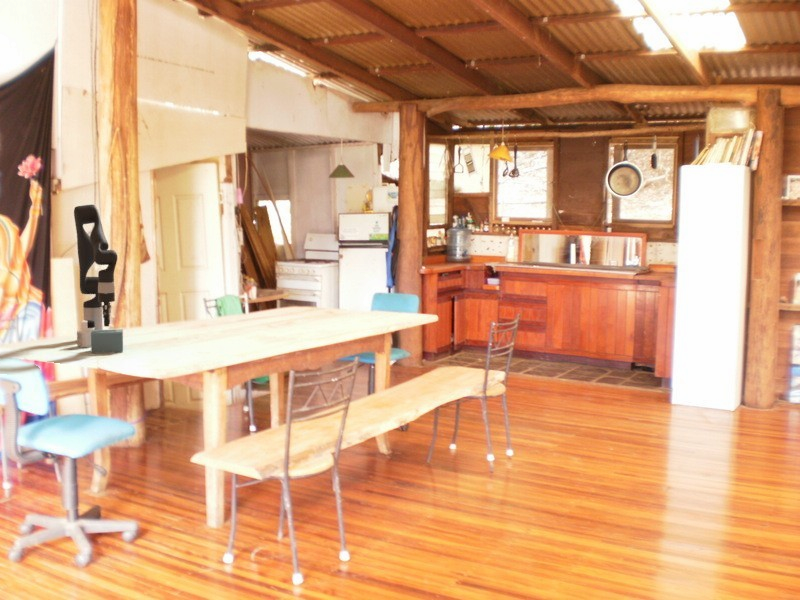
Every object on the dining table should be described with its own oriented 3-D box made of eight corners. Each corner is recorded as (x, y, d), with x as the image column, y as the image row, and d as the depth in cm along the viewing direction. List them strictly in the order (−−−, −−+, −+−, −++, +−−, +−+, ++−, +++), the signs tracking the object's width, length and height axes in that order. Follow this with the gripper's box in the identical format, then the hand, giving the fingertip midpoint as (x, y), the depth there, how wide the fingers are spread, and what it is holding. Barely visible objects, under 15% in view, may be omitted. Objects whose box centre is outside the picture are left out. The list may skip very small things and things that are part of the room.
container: (91, 344, 417) (90, 319, 416) (99, 346, 412) (98, 320, 411) (76, 346, 411) (76, 320, 410) (85, 347, 406) (84, 321, 405)
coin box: (92, 350, 399) (92, 330, 398) (123, 349, 403) (122, 329, 402) (91, 353, 390) (90, 332, 389) (122, 352, 394) (122, 332, 393)
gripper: (98, 290, 399) (99, 323, 401) (97, 293, 386) (97, 327, 387) (115, 290, 402) (115, 323, 403) (114, 292, 388) (114, 326, 389)
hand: (107, 325), depth 395 cm, fingers open, 8 cm apart
